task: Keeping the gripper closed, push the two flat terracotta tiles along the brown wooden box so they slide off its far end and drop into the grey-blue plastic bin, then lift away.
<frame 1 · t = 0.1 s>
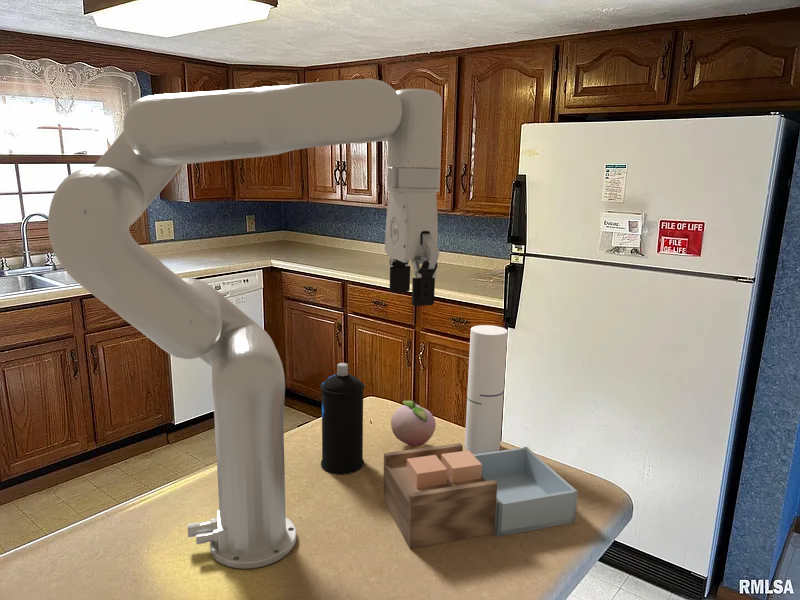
hand: (410, 298, 88), 37 cm above the countertop, tool pointing down, fingers open, 9 cm apart
brown wooden box: (436, 515, 96), on the countertop
tile near: (426, 478, 94), point 7 cm above the countertop, touching brown wooden box
cylindrical container: (482, 448, 120), on the countertop
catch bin: (512, 502, 101), on the countertop
tile far: (460, 473, 96), point 7 cm above the countertop, touching brown wooden box
aerosol can: (342, 464, 112), on the countertop
decorative fruit: (411, 448, 120), on the countertop
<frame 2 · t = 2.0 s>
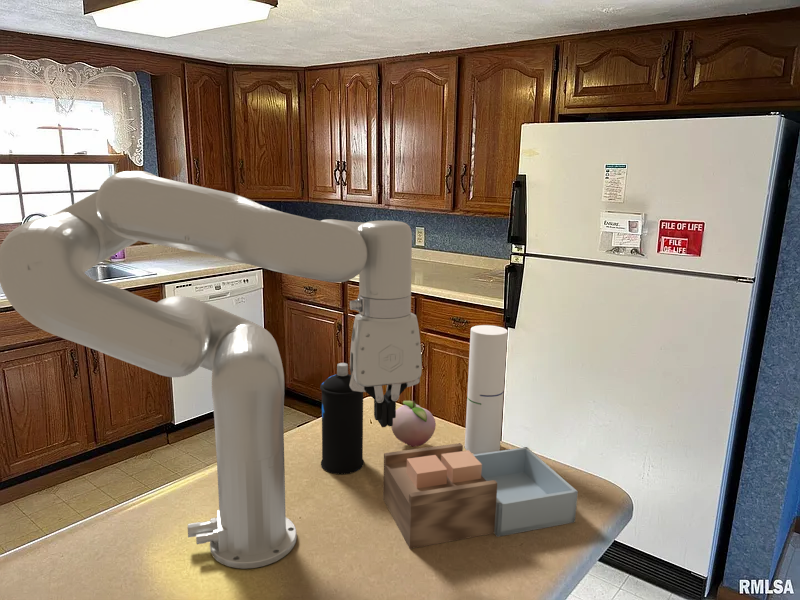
hand: (384, 422, 90), 17 cm above the countertop, tool pointing down, fingers closed
nothing on the countertop moved.
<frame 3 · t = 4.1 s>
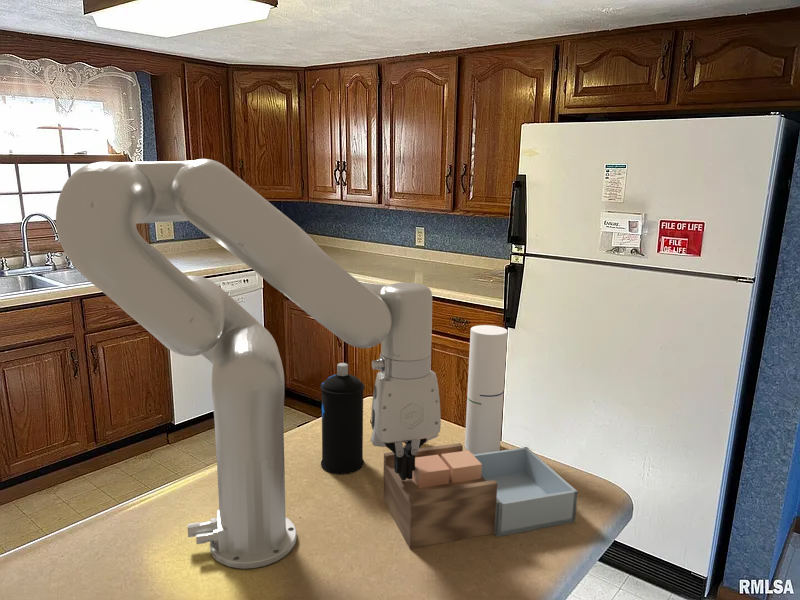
hand: (404, 475, 93), 8 cm above the countertop, tool pointing down, fingers closed
tile near: (428, 477, 94), point 7 cm above the countertop, touching gripper, brown wooden box
everything else where it was.
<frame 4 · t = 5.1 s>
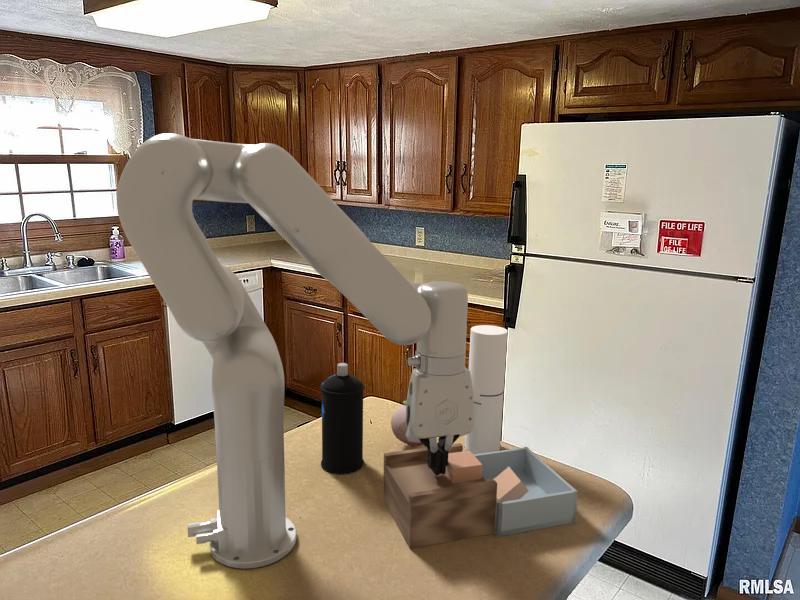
hand: (437, 470, 94), 8 cm above the countertop, tool pointing down, fingers closed
tile near: (461, 473, 96), point 7 cm above the countertop, touching gripper, brown wooden box
tile far: (503, 483, 98), point 4 cm above the countertop, tilted 141°, touching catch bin
everything else where it was.
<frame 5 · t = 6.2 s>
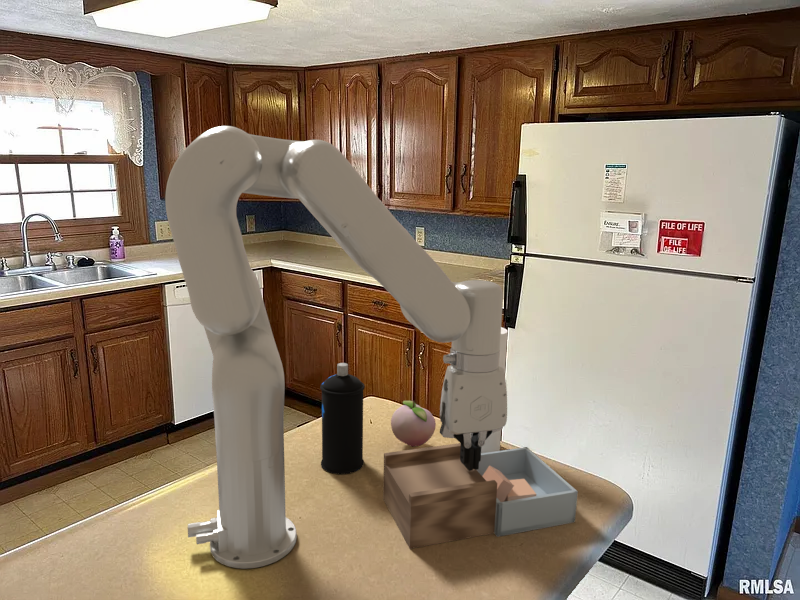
hand: (469, 465, 96), 8 cm above the countertop, tool pointing down, fingers closed
tile near: (487, 484, 98), point 4 cm above the countertop, tilted 123°, touching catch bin, tile far
tile far: (516, 487, 99), point 3 cm above the countertop, tilted 180°, touching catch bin, tile near
everything else where it was.
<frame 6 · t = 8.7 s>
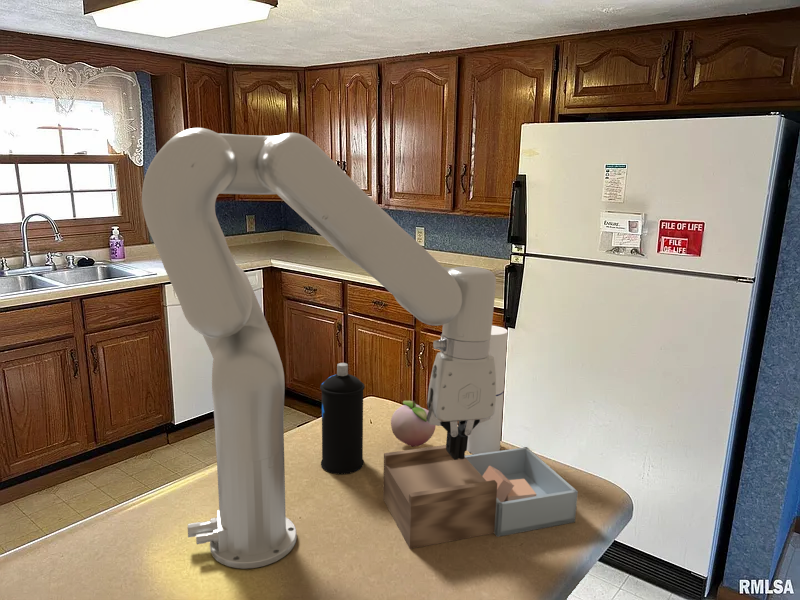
hand: (455, 455, 95), 10 cm above the countertop, tool pointing down, fingers closed
nothing on the countertop moved.
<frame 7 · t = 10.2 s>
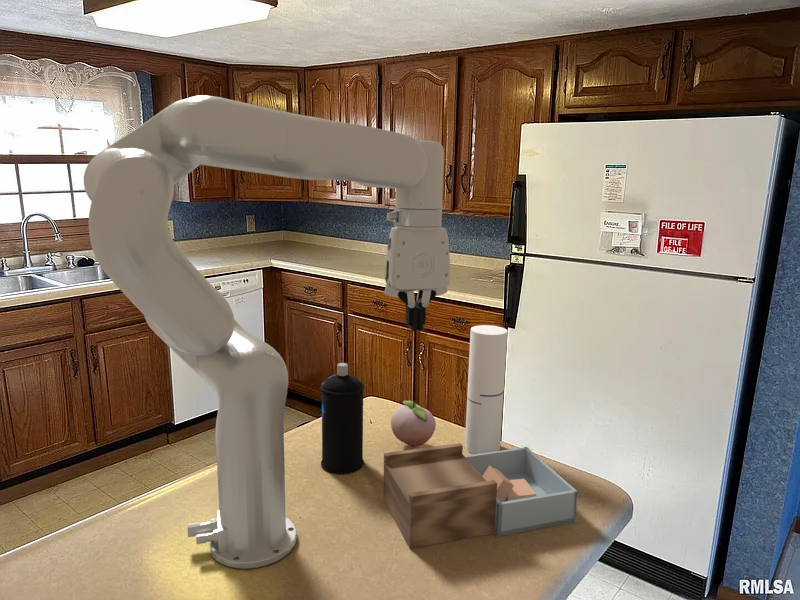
hand: (415, 328, 99), 29 cm above the countertop, tool pointing down, fingers closed
nothing on the countertop moved.
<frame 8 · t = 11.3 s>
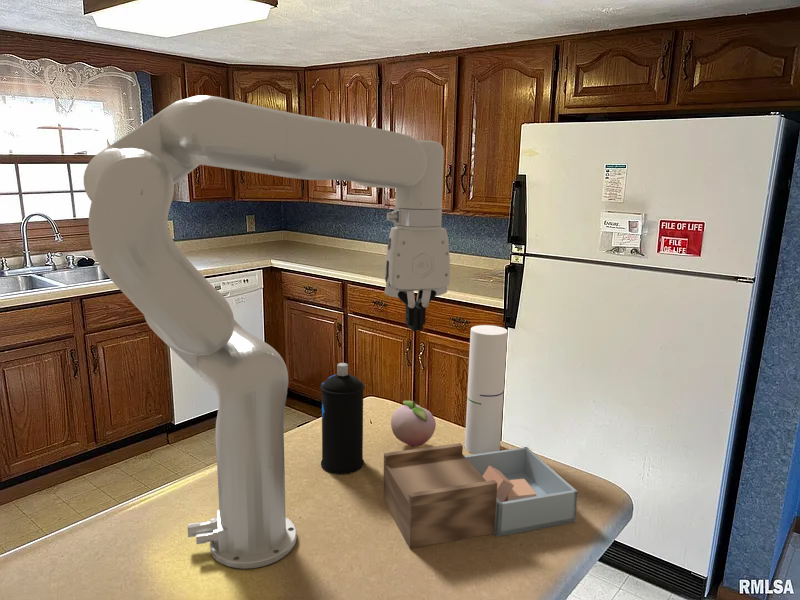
hand: (415, 328, 99), 29 cm above the countertop, tool pointing down, fingers closed
nothing on the countertop moved.
at the end: tile near inside the target area (5.0 cm from its centre), point 4.3 cm above the countertop; tile far inside the target area (0.9 cm from its centre), point 3.3 cm above the countertop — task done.
